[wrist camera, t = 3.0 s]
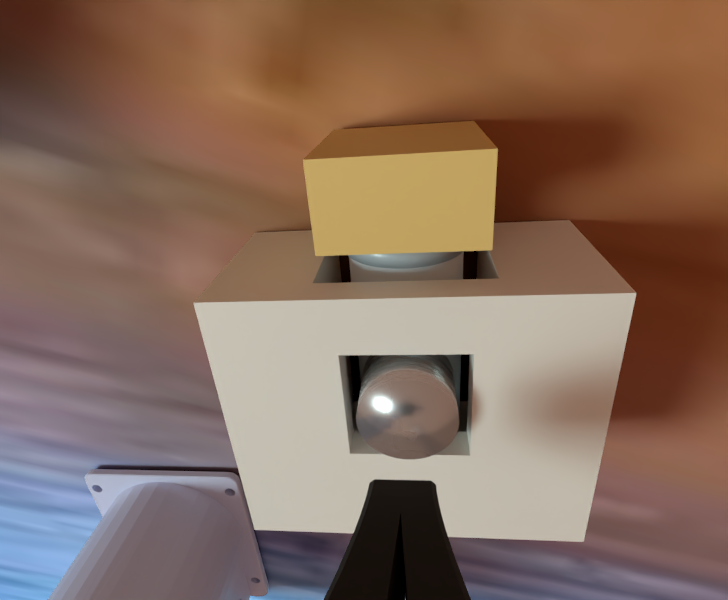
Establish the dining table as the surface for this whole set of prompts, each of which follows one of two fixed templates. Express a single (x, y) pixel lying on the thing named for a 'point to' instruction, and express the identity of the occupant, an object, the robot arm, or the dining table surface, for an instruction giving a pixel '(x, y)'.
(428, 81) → the dining table surface
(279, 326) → the housing
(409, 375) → the plunger
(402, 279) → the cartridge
